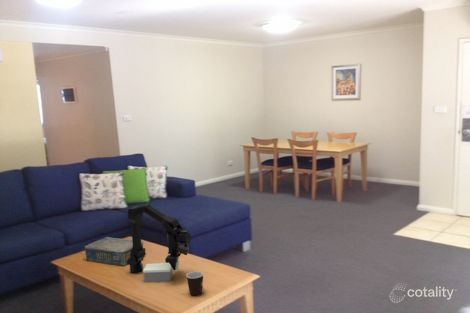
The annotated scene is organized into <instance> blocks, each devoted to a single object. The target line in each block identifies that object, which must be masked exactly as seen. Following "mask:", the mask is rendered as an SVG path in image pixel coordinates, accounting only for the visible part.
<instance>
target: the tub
mask: <svg viewBox="0 0 470 313" xmlns="http://www.w3.org/2000/svg"><path fill="white" fill-rule="evenodd" d="M173 276H174V270H171V271H170V272H148V273H143V277H144V278H143V279H144V283H162V282H165V283H167V282H168V283H169V282H171V280H172V279H173Z"/></svg>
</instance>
